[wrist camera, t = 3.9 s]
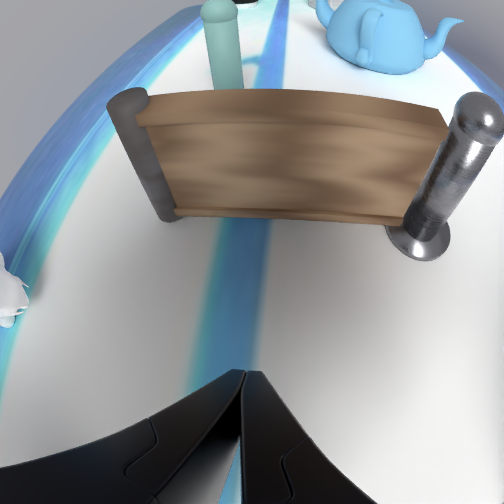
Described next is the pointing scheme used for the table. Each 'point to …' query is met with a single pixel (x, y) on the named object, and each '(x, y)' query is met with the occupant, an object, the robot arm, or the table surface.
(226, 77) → the post
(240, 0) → the dixie cup
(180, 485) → the robot arm
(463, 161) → the hinge post
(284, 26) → the table surface
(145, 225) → the table surface
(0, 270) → the elephant figurine
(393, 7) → the teapot
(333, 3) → the supplement box
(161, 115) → the gate
